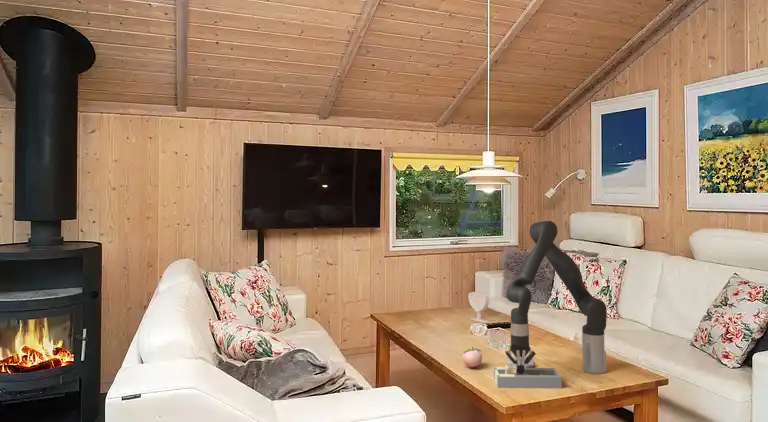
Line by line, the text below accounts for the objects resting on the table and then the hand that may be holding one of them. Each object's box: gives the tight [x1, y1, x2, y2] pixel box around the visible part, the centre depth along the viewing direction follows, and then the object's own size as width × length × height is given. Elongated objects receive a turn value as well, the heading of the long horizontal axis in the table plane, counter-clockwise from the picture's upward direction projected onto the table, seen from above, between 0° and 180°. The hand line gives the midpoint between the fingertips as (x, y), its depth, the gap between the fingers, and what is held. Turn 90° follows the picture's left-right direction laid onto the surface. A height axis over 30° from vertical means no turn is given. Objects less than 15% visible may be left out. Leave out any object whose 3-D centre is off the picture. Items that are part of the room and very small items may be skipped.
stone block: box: [507, 355, 536, 368], centre depth 235 cm, size 12×5×10 cm
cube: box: [504, 364, 516, 375], centre depth 216 cm, size 4×4×4 cm
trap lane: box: [493, 366, 563, 389], centre depth 215 cm, size 26×12×5 cm, turn 86°
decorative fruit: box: [462, 346, 483, 369], centre depth 235 cm, size 9×8×10 cm
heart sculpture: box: [468, 291, 490, 324], centre depth 325 cm, size 16×5×18 cm, turn 34°
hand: (520, 373), depth 215 cm, fingers closed
